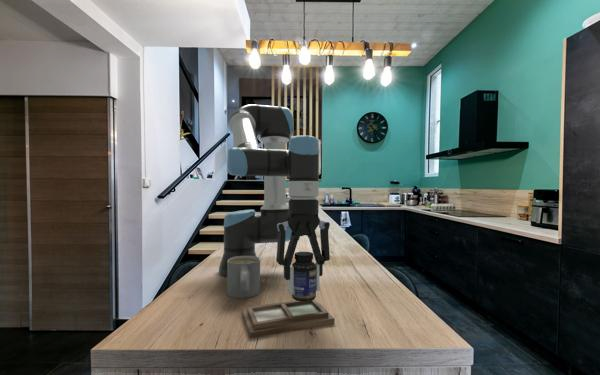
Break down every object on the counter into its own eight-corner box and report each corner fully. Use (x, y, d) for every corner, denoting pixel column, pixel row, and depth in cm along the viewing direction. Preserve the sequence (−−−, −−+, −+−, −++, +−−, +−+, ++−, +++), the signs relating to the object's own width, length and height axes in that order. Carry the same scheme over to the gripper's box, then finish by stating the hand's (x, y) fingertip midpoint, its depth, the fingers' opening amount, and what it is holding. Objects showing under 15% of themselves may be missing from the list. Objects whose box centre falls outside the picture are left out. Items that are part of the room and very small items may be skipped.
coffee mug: (231, 286, 92) (231, 255, 92) (262, 286, 92) (262, 255, 92) (220, 302, 79) (220, 267, 79) (255, 303, 79) (255, 267, 79)
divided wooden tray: (242, 314, 72) (242, 305, 72) (315, 303, 78) (315, 295, 78) (250, 338, 61) (250, 327, 61) (334, 323, 67) (334, 314, 67)
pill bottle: (313, 303, 67) (313, 256, 67) (288, 301, 68) (288, 255, 68) (317, 294, 73) (317, 251, 73) (294, 292, 74) (294, 250, 74)
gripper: (269, 199, 64) (269, 301, 64) (344, 198, 71) (344, 291, 70) (262, 198, 71) (262, 290, 71) (331, 197, 78) (331, 281, 78)
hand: (303, 290), depth 71 cm, fingers closed on pill bottle, 6 cm apart
